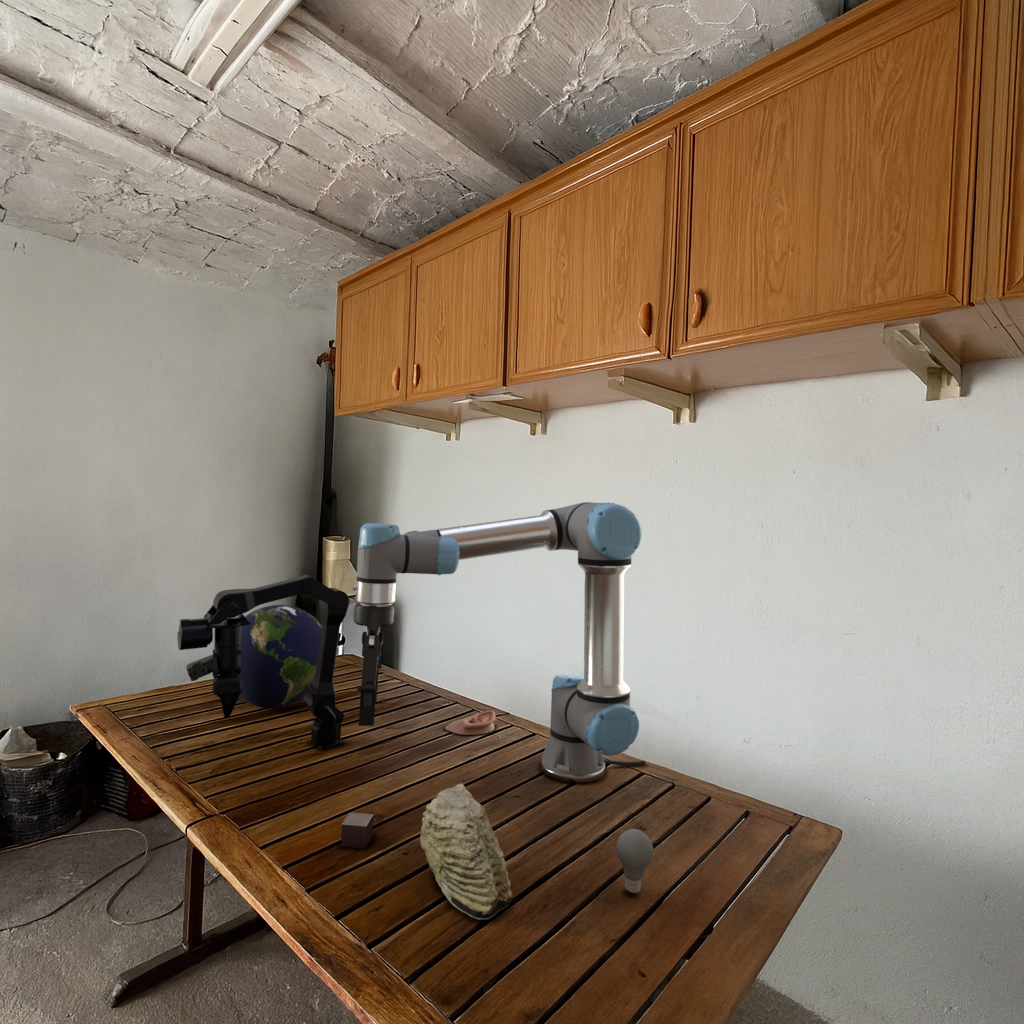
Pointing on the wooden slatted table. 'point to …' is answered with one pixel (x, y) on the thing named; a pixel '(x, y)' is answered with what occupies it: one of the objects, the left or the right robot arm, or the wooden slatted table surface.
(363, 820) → the block
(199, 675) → the left robot arm
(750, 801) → the wooden slatted table surface
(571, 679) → the right robot arm
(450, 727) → the anatomical model
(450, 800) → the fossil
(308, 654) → the globe
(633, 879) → the light bulb
